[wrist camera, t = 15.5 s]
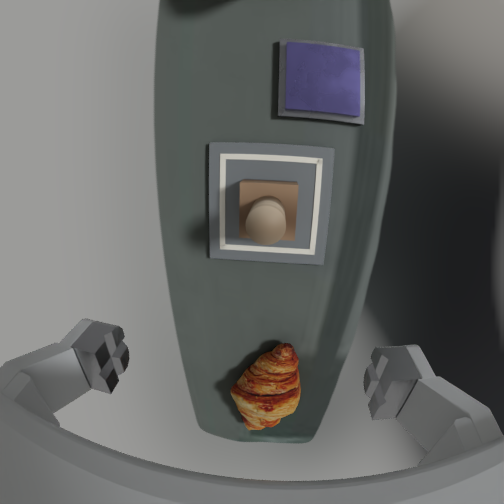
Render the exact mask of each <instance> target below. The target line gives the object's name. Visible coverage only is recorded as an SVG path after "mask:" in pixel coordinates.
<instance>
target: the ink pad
mask: <svg viewBox="0 0 504 504" xmlns="http://www.w3.org/2000/svg"><path fill="white" fill-rule="evenodd" d="M364 106H365V74H364V48H358V47H353V46H347V45H341V44H334V43H327V42H318V41H309V40H297V39H280V59H279V100H278V116H279V117H295V118H308V119H319V120H329V121H337V122H345V123H352V124H359V125H364Z"/></svg>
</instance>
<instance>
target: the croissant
mask: <svg viewBox="0 0 504 504" xmlns="http://www.w3.org/2000/svg"><path fill="white" fill-rule="evenodd" d="M297 365H298V357H297V355H296V353H295V351H294V347H293V346H292V345H291V344H290V343H289V344H288V343H284V344H282V343H281V344H279V345H277V346H276V347H275V348H274V349H273V351H271V352H267V353H265V354H262V355H261V356H260V357H259V358H258V359H257V360H256V361H255V363H254V364H252V365H251V366H250V367H248V368H247V369H246V370H245V372H244V373H243V375H242V376H241V378H240V379H239V380H238V381H237V383H236V384H235V385H233V386H232V388H231V396H232V397H233V399H234V401H235V402H236V405H237V408H238V410H239V411H240V413H241V416H242V420H243V421H244V423H245V426H246V427H247V429H248V430H252V429H255V430H261V429H263V428H265V427H273V426H275V425H276V424H278V423H279V422H280V419H281V418H282V417H285V416H287V415H289V414H291V413H293V412H294V411H295V408H296V407H297V405H298V402H299V399H300V392H301V390H300V381H299V370H298V366H297Z"/></svg>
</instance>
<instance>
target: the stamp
mask: <svg viewBox="0 0 504 504" xmlns="http://www.w3.org/2000/svg"><path fill="white" fill-rule="evenodd" d="M298 186H299V185H298V183H297V181H280V180H260V179H243V180H242V181H241V182H240V206H239V238H251V239H252V240H253V241H254V242H256V243H258V244H261V245H271V244H274V243H276V242H278V241H279V240H290V241H295V230H296V217H297V202H298Z"/></svg>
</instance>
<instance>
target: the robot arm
mask: <svg viewBox="0 0 504 504" xmlns="http://www.w3.org/2000/svg"><path fill="white" fill-rule="evenodd" d="M124 337H125V336H124V332H123V329H122V328H120V327H119V326H116V325H111V324H106V323H102V322H99V321H93V320H90V319H82V320H81V321H80V322H79V323H78V324H77V325H76V326H75V327H74V328H73V329H72V330H71V331H70V332H69V333H68V334H67V335H66V337H65V338H64V339H63V340H62V341H61V342H60V343H54V344H51V345H48V346H46V347H43V348H41V349H38V350H36V351H33V352H30V353H28V354H25V355H23V356H20V357H18V358H15V359H12V360H10V361H7V362H5V363H4V364H3V366H2V367H1V368H0V504H504V435H502V433H501V431H500V429H499V427H498V425H497V423H496V421H495V419H494V417H493V415H492V413H491V411H490V409H489V408H488V407H486V406H485V405H483V404H481V403H480V402H478V401H477V400H475V399H474V398H472V397H471V396H469V395H467V394H466V393H464V392H463V391H461V390H460V389H458V388H456V387H455V386H453V385H452V384H450V383H449V382H447V381H446V380H444V379H443V378H441V377H436V376H435V374H434V372H433V371H432V369H431V367H430V365H429V363H428V361H427V360H426V358H425V356H424V354H423V353H422V351H421V349H420V347H419V346H417V345H406V346H397V347H376V348H375V349H374V350H373V352H372V355H371V359H372V362H373V363H371V364H370V365H369V366H368V367H367V369H366V372H365V375H364V390H365V394H366V395H367V396H368V397H369V398H371V400H370V402H369V404H368V406H369V410H370V413H371V417H372V420H379V419H390V418H396V420H397V421H398V422H399V423H400V424H401V425H402V426H403V427H404V428H405V429H406V430H407V431H408V432H409V433H410V434H411V435H412V436H413V437H414V438H415V439H416V440H417V441H418V442H419V443H420V444H421V445H422V446H423V447H424V448H425V449H426V451H427V452H428V454H427V455H426V456H425V457H424V458H423V459H422V460H421V461H420V462H419V464H418V465H417V467H413V468H408V469H404V470H399V471H394V472H389V473H384V474H378V475H372V476H364V477H356V478H347V479H336V480H322V481H268V480H253V479H242V478H232V477H224V476H217V475H210V474H204V473H198V472H193V471H188V470H183V469H179V468H174V467H170V466H165V465H162V464H158V463H154V462H150V461H147V460H143V459H140V458H137V457H133V456H130V455H127V454H124V453H121V452H118V451H116V450H113V449H110V448H107V447H105V446H102V445H100V444H97V443H94V442H92V441H90V440H87V439H85V438H82V437H80V436H78V435H76V434H73V433H71V432H69V431H67V430H65V429H63V428H61V427H60V424H59V422H58V420H57V419H56V418H55V416H54V415H53V413H55V412H56V411H58V410H59V409H61V408H63V407H64V406H66V405H67V404H69V403H70V402H72V401H74V400H75V399H77V398H78V397H80V396H81V395H83V394H84V393H86V392H87V391H89V390H90V389H91V388H92V389H95V390H99V391H102V392H105V393H109V394H111V393H112V392H113V390H114V388H115V387H116V385H117V383H118V382H119V379H118V375H120V374H122V373H124V372H125V370H126V368H127V367H128V362H129V350H128V347H127V346H126V345H125V343H124V342H123V341H122V340H123V339H124Z"/></svg>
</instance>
